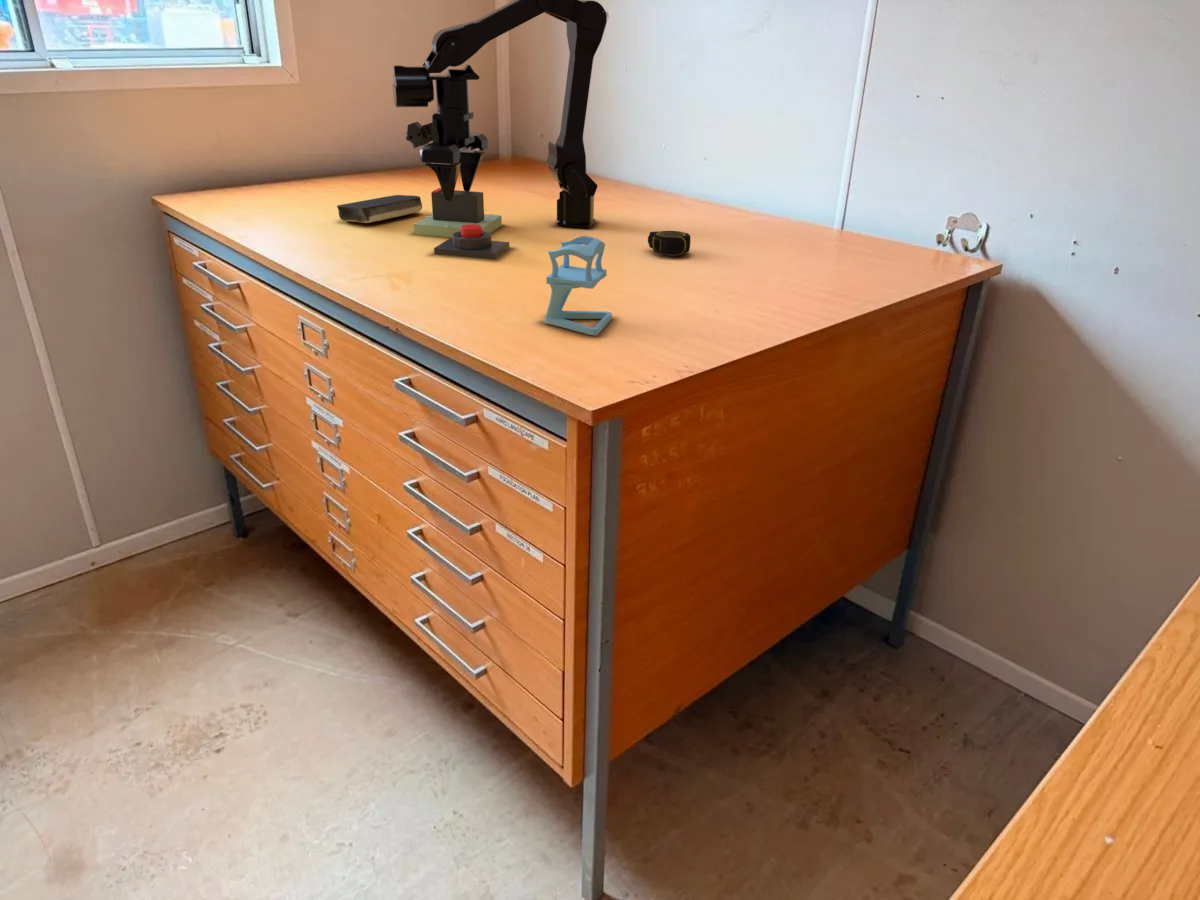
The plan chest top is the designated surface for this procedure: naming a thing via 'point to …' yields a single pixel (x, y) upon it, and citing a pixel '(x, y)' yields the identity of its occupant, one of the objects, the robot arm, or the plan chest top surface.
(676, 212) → the plan chest top surface
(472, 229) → the button
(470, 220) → the block
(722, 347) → the plan chest top surface
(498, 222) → the pale green square pad
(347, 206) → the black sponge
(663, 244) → the tape measure
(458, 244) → the button box
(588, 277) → the chair
